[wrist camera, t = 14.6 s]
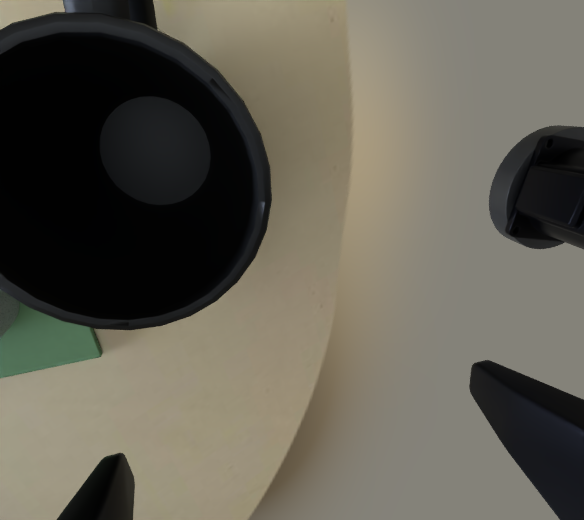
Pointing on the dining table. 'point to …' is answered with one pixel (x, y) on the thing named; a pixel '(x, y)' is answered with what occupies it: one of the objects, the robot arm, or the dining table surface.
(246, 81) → the dining table surface
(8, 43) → the mug
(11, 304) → the grey tumbler
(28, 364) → the green mat
